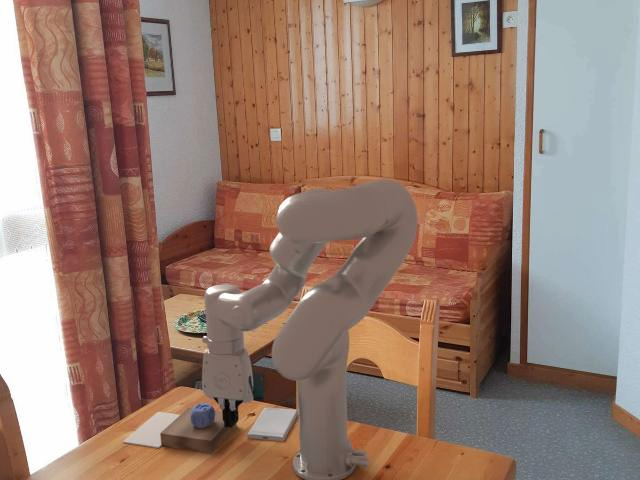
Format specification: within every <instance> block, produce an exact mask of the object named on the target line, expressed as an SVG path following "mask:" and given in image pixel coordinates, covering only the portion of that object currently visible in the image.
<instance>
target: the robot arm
mask: <svg viewBox="0 0 640 480" xmlns="http://www.w3.org/2000/svg"><path fill="white" fill-rule="evenodd" d="M418 223H419V222H418V210H417V208H416V204H415V200H414V199H413V197H412V194H411V193H410V192H409V190H408V188H406V187H405V186H404V185H403V184H402V183H400V182H399V181H395V180H393V179H389V178H388V179H387V178H386V179H385V178H381V179H380V178H379V179H374V180H371V181H368V182H364V183H361V184H357V185H354V186H350V187H346V188H341V189H335V190H330V189H326V188H313V189H310V190H306V191H303V192H299V193H296V194H292V195H291V196H289V197H287V198H286V199H285V200H284V201H283V202H282V203H281V204H280V206H279V208H278V211H277V214H276V225H277V229H278V234H276V236H275V238H274V239H273V241H272V242H271V243H270V247H269V255H270V258H271V259H272V261H273V262H274V263H275V265H274V267H273V268H272V271H271V272H270V273H269V274H268V276H267V277H266V279H265V280H264V281H263V283H261V284H258V285H256V286H254V287H252V288H250V289H248V290H246V291H243V292H242V291H241V289H240V288H239V286H237V285H234V284H230V283H228V284H226V283H225V284H224V283H223V284H215V285H213V286H210V287H208V288H207V289H206V290H205V291H204V307H205V308H204V309H205V310H204V311H205V323H206V324H205V325H206V336H205V335H204V336H203V337H202V340H201V341H202V342H201V343H204V344H206V348H205V350H204V353H203V359H202V370H201V371H202V372H201V386H202V387H201V388H202V392H203V394H204V395H205V396H206V397H207V398H209V399H212V400H214V401H215V402H216V403H217V404H218V406H219V409H220V410H221V412H222V415H223V421H224V427H229V428H232V427H233V426H234V425H235V424H236V423H238V422H239V419H240V418H239V407H240V405H242V404H249V403H252V401H253V400H254V395H253V391H254V376H253V369H252V361H251V358H250V354H249V352H248V348H246V347H245V340H244V339H245V335H244V334H245V332H252V331H253V332H254V331H255V330H257V329H259V328H260V327H262V326H264V325H266V324H267V323H268V322H270V321H272V320H274V319H276V318H278V317H279V316H281V315H282V314H284V312H285V311H286V310H287V309H288V308H289V307H290V306H291V304H292V303H293V302H294V300H295V299H296V298H297V296H298V295H299V294H300V292H301V291H302V289H303V287H304V285H305V283H306V280H307V277H308V271H309V269H310V268H311V266H312V265H313V263H314V262H315V260H316V259H317V258H318V256H319V255H320V254H321V252H322V251H323V249H324V248H325V246H326V245H327V244H328V243H330V242H332V243H333V242H341V241H351V240H359V239H360V241H359V242H358V243H357V244H356V246H355V247H354V248H353V249H352V251H351V252H350V254H349V256H348V258H347V259H346V260H345V262H344V263H343V264H342V266H341V267H340V268H339V270H338V271H337V272H336V273H334V274H333V275H332V276H331V277H329V278H327V279H326V280H324V281H321V282H320V283H318V284H317V285H315V286H313V287H312V288H311V289H309V291H307V292H306V293H305V294H304V295H303V296H302V298H301V299H300V300H299V302H298V303H297V304H296V306H295V307H294V309H293V310H292V312H291V313H290V315H289V317H288V318H287V319H286V321H285V323H284V324H283V325H282V326H281V328H280V330H279V332H278V333H277V334H276V335H275V338H274V340H273V344H272V347H271V360H272V364H273V366H274V368H275V370H276V371H277V372H278V373H279V374H280V375H281V376H282V377H283V378H285V379H288V380H291V381H295V382H296V381H297V387H296V388H297V410H298V415H297V417H298V432H299V434H298V436H299V451H298V452H297V453H295V455H294V457H293V459H292V469H293V471H294V473H295V474H296V475H297V476H298V477H300V478H302V479H303V480H343V479H345V478H347V477H349V476H350V475H351V474H352V473H354V471H355V469H356V466H358V467H362V468H369V465H370V457H369V456H366V455H367V453H366V452H367V451H366V450H363V449H359V450H358V449H355V448H354V447H353V441H352V440H350V439H349V438H348V405H347V403H348V402H347V392H348V391H347V390H348V389H347V370H348V367H347V366H348V358H349V352H350V351H349V350H350V333H349V330H351V329H352V328H353V327H355V326H356V325H358V324H359V323H360V322H361V321H363V320H364V319H365V318H366V316H367V315H368V313H369V312H370V311H371V309H372V308H373V305H375V303H376V301H377V300H378V299H379V297H380V296H381V295H382V294H383V292H384V290H385V289H386V288H387V287H388V285H389V283H390V281H391V280H392V278H393V277H394V275H395V274H396V273H397V272H398V270H399V269H400V268H401V266H402V265H403V264H404V262H405V260H406V259H407V257H408V255H409V253H410V251H411V249H412V247H413V245H414V242H415V239H416V236H417V231H418V226H419V225H418ZM348 439H349V440H348Z"/></svg>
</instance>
